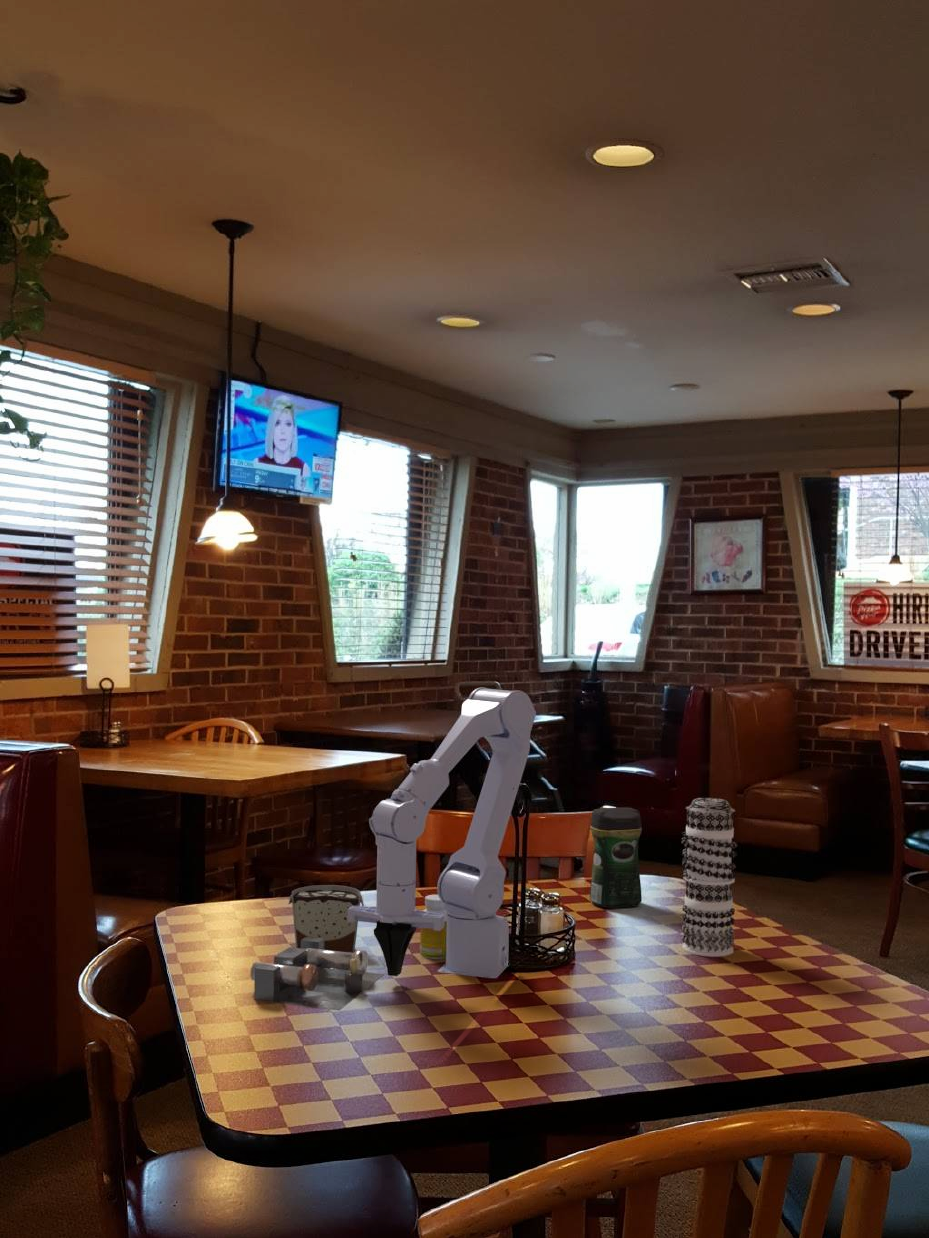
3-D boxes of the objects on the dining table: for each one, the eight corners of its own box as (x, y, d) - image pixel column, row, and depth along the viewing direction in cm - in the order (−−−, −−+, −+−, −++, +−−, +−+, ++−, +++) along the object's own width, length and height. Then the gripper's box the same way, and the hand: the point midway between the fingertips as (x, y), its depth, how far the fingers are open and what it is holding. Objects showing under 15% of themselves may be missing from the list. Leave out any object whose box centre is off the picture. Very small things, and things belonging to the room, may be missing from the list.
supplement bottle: (449, 963, 184) (450, 902, 184) (416, 960, 186) (417, 899, 185) (456, 953, 190) (457, 894, 190) (424, 951, 191) (425, 892, 191)
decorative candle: (668, 948, 195) (670, 798, 195) (702, 938, 201) (704, 793, 201) (713, 960, 188) (715, 806, 188) (746, 950, 194) (749, 800, 194)
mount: (384, 978, 176) (384, 945, 176) (339, 1014, 160) (339, 977, 160) (305, 968, 180) (306, 936, 180) (254, 1003, 164) (254, 968, 164)
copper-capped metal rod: (318, 986, 167) (318, 961, 167) (307, 994, 164) (307, 968, 164) (260, 979, 170) (260, 955, 170) (248, 987, 167) (249, 962, 167)
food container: (369, 945, 194) (370, 885, 194) (362, 956, 187) (363, 894, 187) (296, 942, 195) (297, 882, 195) (287, 953, 189) (288, 891, 189)
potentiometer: (364, 988, 170) (365, 958, 170) (358, 993, 167) (358, 963, 167) (348, 986, 170) (348, 956, 170) (341, 991, 168) (341, 961, 168)
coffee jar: (629, 897, 229) (631, 803, 229) (646, 907, 222) (648, 810, 222) (583, 900, 227) (585, 805, 227) (599, 910, 219) (601, 812, 219)
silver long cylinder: (367, 971, 175) (368, 947, 175) (358, 978, 171) (358, 954, 171) (311, 965, 178) (312, 941, 178) (301, 972, 174) (302, 948, 174)
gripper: (339, 883, 170) (338, 976, 170) (433, 892, 166) (432, 987, 166) (358, 873, 177) (357, 962, 177) (449, 881, 172) (447, 973, 172)
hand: (394, 973), depth 172 cm, fingers closed
